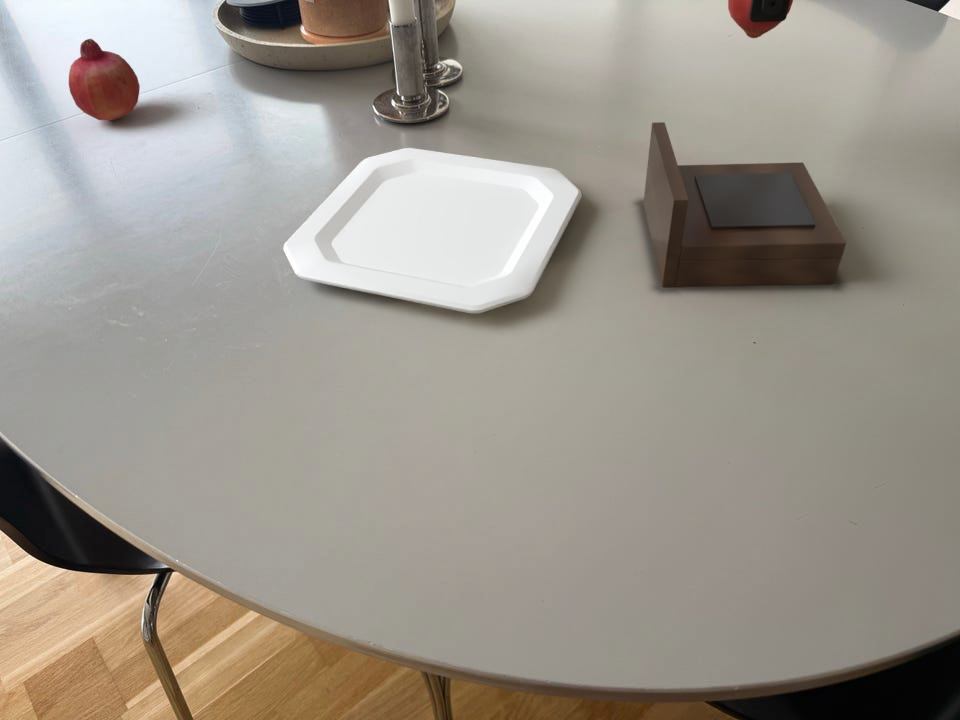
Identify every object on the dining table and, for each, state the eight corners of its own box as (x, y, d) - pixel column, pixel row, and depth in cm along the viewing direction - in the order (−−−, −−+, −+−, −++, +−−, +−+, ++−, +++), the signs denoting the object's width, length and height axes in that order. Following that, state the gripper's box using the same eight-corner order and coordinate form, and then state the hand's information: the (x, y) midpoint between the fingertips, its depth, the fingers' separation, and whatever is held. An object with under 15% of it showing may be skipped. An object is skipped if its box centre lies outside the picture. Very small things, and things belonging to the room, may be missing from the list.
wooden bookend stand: (793, 200, 83) (814, 118, 77) (833, 284, 73) (861, 196, 67) (643, 204, 84) (652, 122, 78) (662, 287, 74) (673, 200, 67)
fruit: (150, 125, 102) (123, 45, 95) (82, 138, 100) (50, 57, 93) (147, 99, 108) (121, 22, 101) (82, 111, 106) (52, 33, 99)
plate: (517, 337, 69) (517, 317, 68) (265, 285, 76) (260, 266, 75) (591, 191, 86) (592, 172, 85) (379, 159, 93) (377, 141, 92)
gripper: (884, -213, 58) (824, 42, 70) (821, -244, 71) (779, -24, 83) (776, -208, 58) (735, 44, 70) (733, -240, 71) (704, -22, 83)
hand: (759, 5), depth 76 cm, fingers closed on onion, 5 cm apart
